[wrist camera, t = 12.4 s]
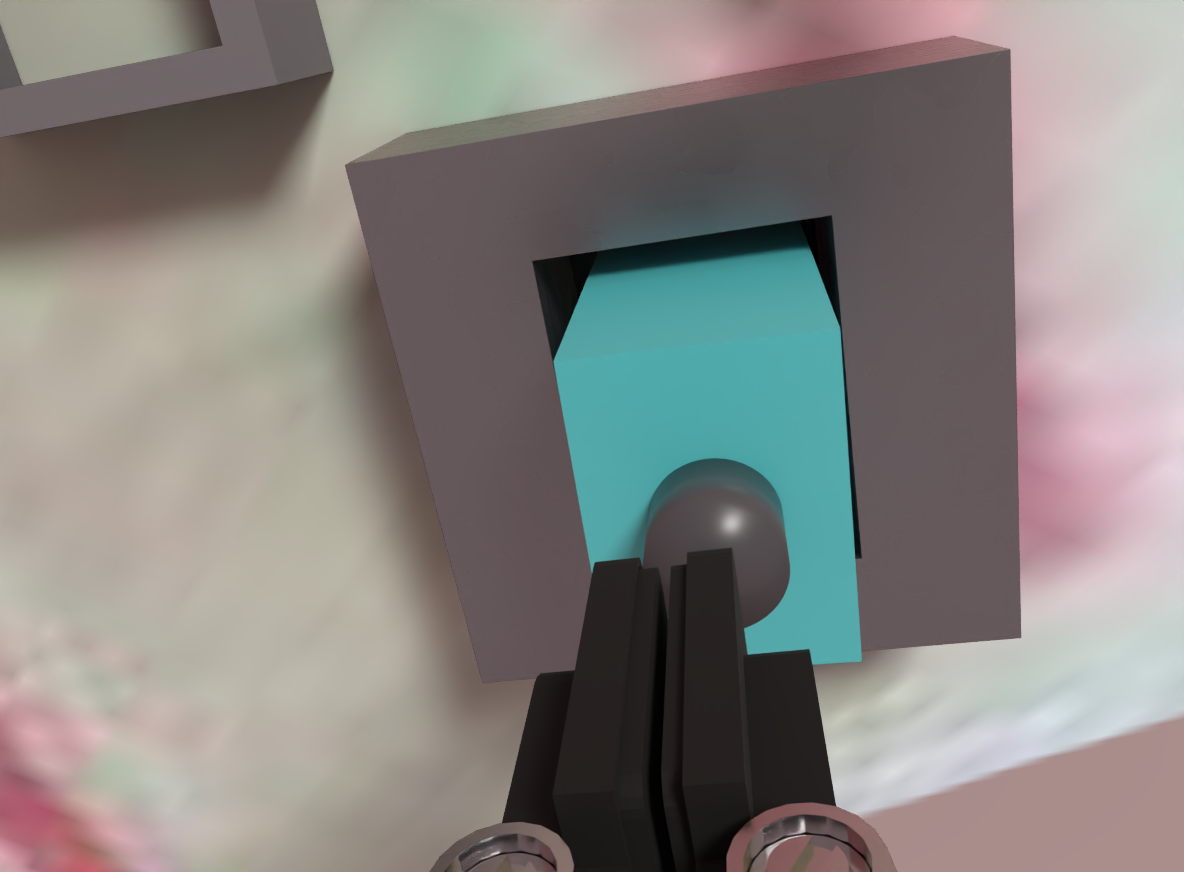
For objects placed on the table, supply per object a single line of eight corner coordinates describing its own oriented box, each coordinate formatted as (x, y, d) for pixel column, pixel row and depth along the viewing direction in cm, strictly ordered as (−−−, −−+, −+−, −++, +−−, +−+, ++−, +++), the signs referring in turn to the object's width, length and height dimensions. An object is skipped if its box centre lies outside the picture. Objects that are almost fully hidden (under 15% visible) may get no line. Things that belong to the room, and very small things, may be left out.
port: (954, 36, 20) (1010, 48, 16) (973, 536, 24) (1021, 637, 20) (406, 133, 21) (345, 164, 18) (515, 582, 26) (482, 683, 22)
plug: (795, 209, 21) (854, 366, 13) (814, 450, 23) (876, 724, 15) (605, 234, 22) (537, 401, 13) (640, 466, 24) (602, 739, 15)
